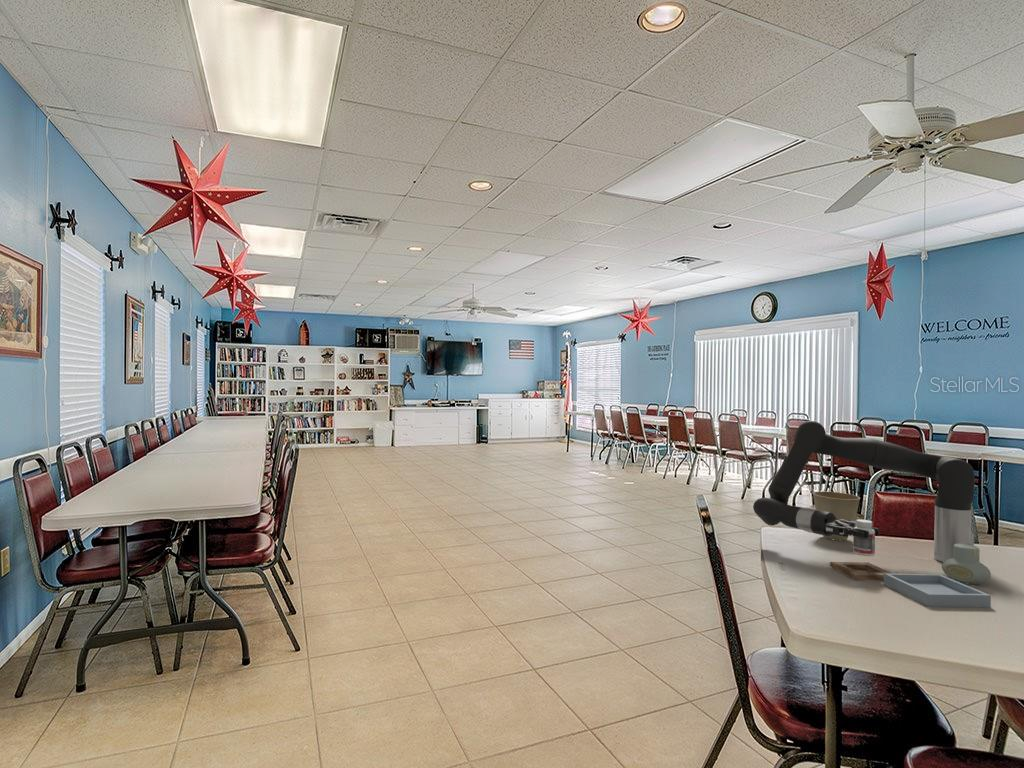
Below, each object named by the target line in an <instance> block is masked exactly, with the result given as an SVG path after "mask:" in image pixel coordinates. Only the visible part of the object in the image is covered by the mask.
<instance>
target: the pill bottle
mask: <svg viewBox="0 0 1024 768" xmlns="http://www.w3.org/2000/svg"><path fill="white" fill-rule="evenodd" d="M855 521H856V525H857V527H855V528H857V529H861V530H866V531H868V532H869V538H867V539H865V538H861V537H856V536H853V538H852V539H853V541H852V542H853V543H852V552H853V553H854V554H856V555H858V556H862V557H874V556H875V553H876V552H875V551H876V550H875V549H876V543H875V542H876V536H875V531H874V530H873V529H871V527H873V521H871V520H869V519H855Z"/></svg>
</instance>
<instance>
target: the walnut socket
mask: <svg viewBox="0 0 1024 768" xmlns="http://www.w3.org/2000/svg"><path fill="white" fill-rule="evenodd" d="M830 566H831V567H832V569H833V568H834V569H833V570H835V569H836V570H835V571H837V570H838V571H837V572H839V571H840V572H839V573H841V574H843V575H845V576H846V577H849V578H850V577H851V579H852V578H853V580H854V579H855V581H879V580H882V581H883V582H884V573H891V571H888V570H886V569H884V568H881V567H879V566H877V565H875V564H873V563H870V561H869V562H865V561H859V562H857V561H829V567H830ZM831 567H830V568H831ZM860 571H861V572H860ZM866 571H867V572H866ZM882 581H881V582H882Z"/></svg>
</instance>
